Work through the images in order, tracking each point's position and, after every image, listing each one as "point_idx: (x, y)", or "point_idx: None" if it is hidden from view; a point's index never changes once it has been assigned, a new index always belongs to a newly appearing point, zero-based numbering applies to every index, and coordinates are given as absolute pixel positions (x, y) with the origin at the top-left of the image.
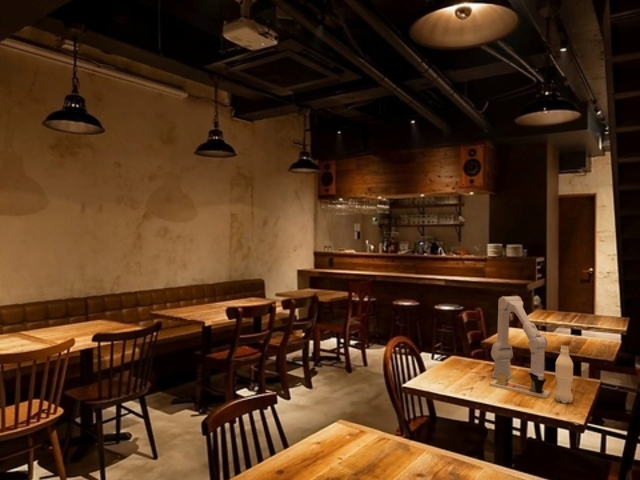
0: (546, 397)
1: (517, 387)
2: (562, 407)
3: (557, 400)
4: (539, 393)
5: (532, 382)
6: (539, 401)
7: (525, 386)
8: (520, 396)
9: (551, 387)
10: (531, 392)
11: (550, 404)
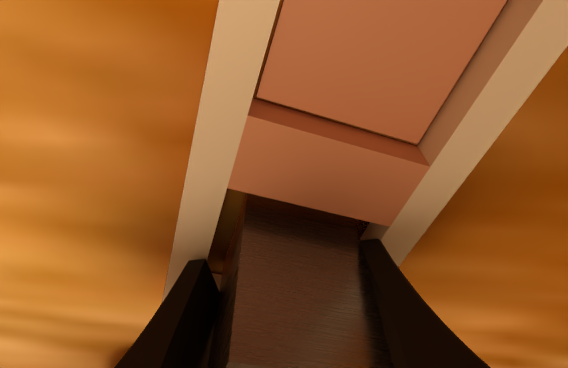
0: None
1: (488, 1)
2: (10, 363)
3: None
4: None
5: (224, 346)
6: (6, 249)
7: (460, 147)
8: (3, 43)
9: (530, 335)
10: (180, 211)
11: (4, 313)
